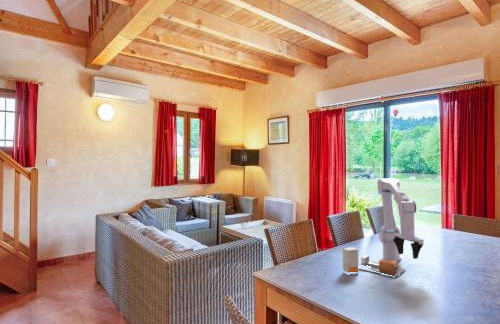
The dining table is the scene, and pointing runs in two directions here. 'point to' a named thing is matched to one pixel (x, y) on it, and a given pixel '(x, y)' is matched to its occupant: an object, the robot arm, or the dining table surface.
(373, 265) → the plate
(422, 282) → the dining table surface
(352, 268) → the skincare box
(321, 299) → the dining table surface
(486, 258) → the dining table surface
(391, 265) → the lock block
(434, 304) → the dining table surface
